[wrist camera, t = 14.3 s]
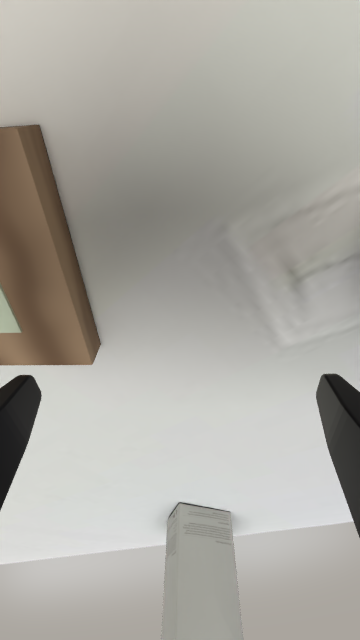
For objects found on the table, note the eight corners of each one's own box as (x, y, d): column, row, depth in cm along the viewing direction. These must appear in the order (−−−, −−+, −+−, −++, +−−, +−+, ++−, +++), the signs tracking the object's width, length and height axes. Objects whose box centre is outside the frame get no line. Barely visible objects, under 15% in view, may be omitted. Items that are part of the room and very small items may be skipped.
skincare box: (166, 517, 46) (154, 673, 34) (179, 499, 43) (170, 667, 30) (217, 527, 47) (224, 681, 35) (234, 511, 44) (248, 676, 31)
